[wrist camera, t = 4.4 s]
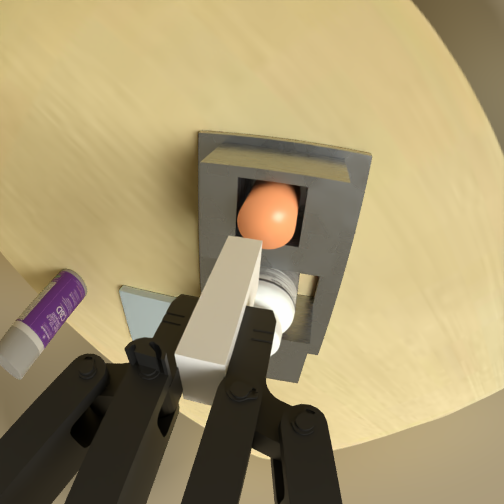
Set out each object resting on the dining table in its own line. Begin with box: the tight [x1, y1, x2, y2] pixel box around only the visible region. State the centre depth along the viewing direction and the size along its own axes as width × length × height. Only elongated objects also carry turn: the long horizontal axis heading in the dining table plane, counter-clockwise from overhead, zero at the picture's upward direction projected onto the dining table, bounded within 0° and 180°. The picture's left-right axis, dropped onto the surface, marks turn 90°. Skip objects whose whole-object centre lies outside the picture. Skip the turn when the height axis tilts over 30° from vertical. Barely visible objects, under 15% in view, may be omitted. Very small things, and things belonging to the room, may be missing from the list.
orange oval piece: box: [237, 180, 301, 249], centre depth 21 cm, size 3×3×5 cm
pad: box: [119, 285, 176, 340], centre depth 36 cm, size 9×9×1 cm
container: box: [0, 269, 87, 379], centre depth 31 cm, size 5×5×15 cm
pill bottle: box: [253, 266, 300, 356], centre depth 25 cm, size 5×5×10 cm
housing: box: [198, 131, 372, 383], centre depth 26 cm, size 22×13×6 cm, turn 176°
